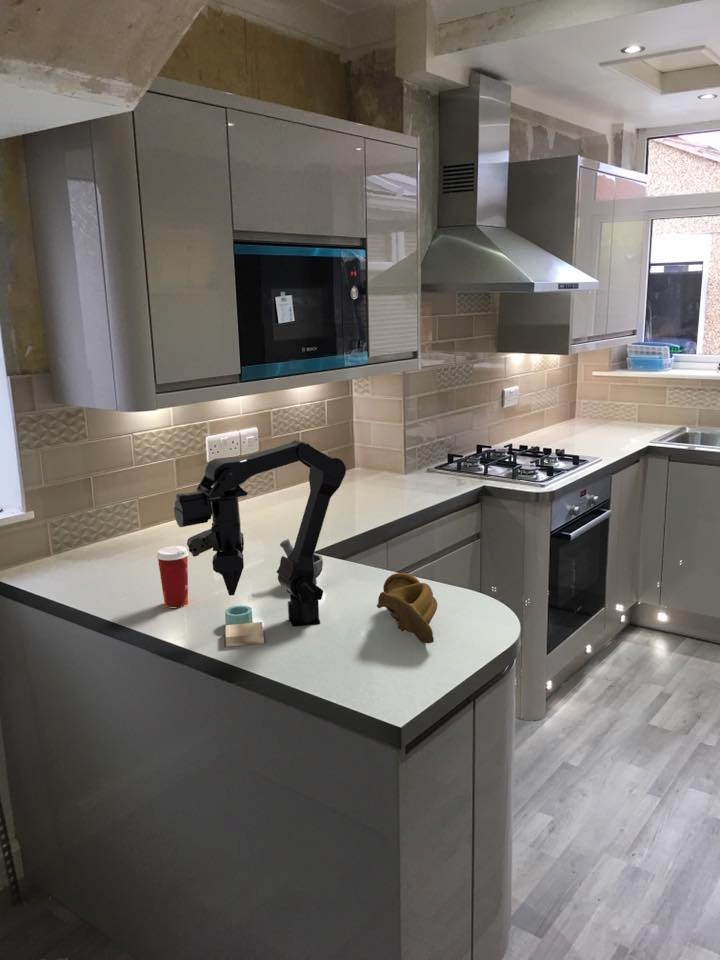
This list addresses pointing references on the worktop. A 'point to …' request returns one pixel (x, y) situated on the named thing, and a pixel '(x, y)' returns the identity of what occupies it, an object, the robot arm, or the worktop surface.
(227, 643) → the board
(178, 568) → the paper cup
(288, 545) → the mortar and pestle
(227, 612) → the ramekin
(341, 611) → the worktop surface
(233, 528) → the robot arm
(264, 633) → the mat
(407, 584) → the brown looped sculpture
